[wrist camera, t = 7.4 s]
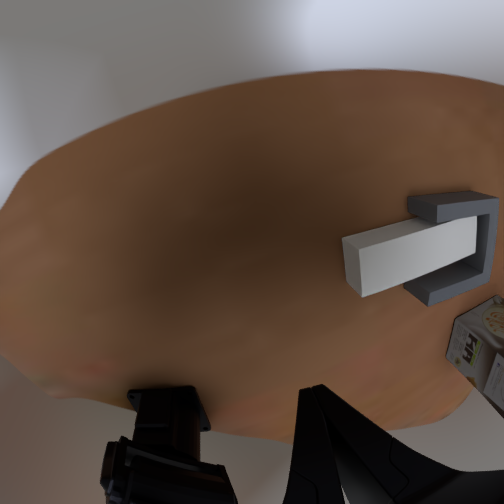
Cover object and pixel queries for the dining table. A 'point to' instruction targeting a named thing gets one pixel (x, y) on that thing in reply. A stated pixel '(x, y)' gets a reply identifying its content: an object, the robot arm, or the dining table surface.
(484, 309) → the coffee box
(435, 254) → the slat
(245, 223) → the dining table surface
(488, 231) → the end cap
